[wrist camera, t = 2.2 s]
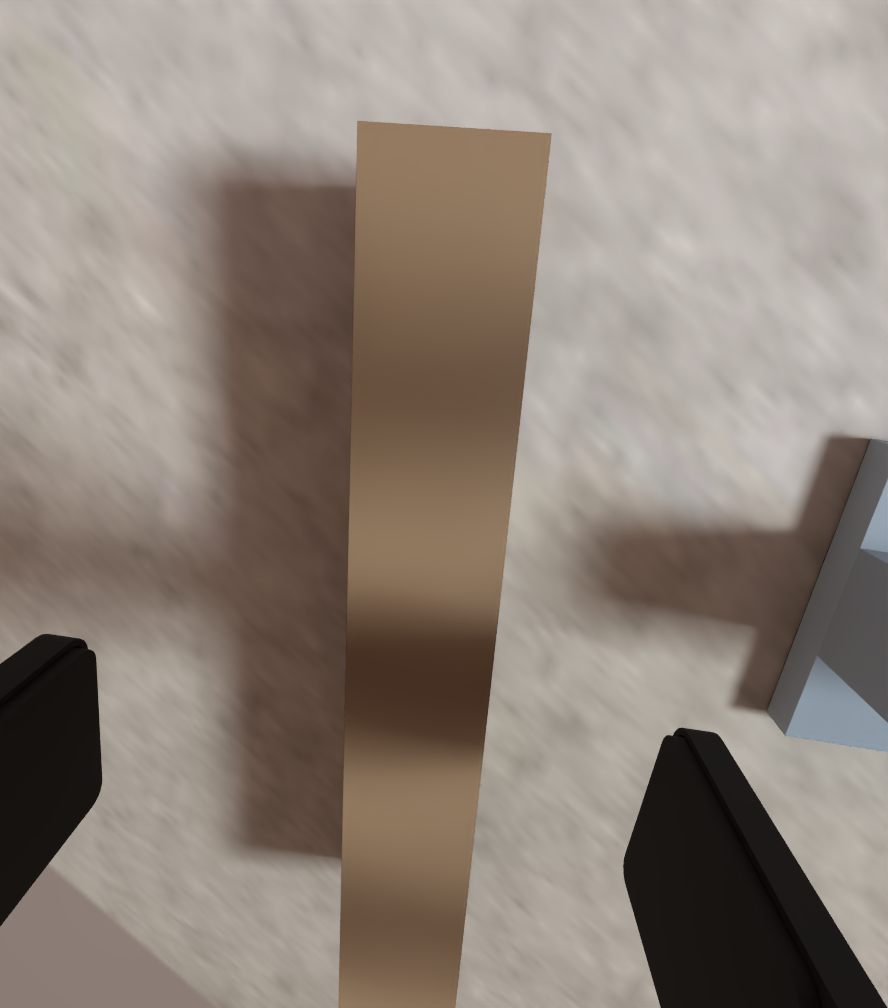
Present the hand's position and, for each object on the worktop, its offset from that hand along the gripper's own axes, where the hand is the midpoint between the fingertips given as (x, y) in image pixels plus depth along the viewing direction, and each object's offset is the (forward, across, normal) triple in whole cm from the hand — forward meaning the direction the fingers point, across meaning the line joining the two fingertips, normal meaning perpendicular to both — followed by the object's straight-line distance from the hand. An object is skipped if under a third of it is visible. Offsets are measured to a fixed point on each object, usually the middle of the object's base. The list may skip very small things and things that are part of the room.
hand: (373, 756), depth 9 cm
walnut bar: (+7, -1, 0) cm, 7 cm away
